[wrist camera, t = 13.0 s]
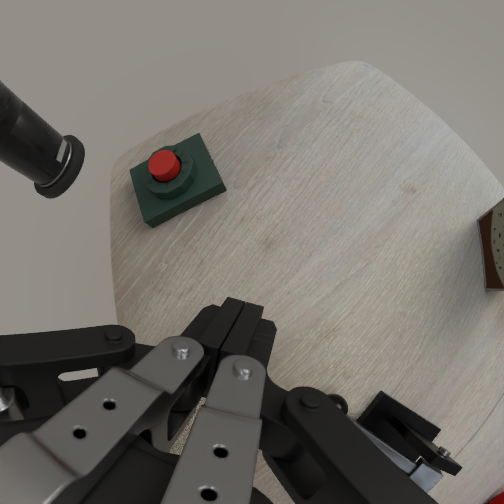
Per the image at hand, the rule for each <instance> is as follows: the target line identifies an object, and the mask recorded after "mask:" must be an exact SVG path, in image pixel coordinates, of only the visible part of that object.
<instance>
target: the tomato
mask: <svg viewBox="0 0 504 504" xmlns="http://www.w3.org/2000/svg"><path fill="white" fill-rule="evenodd" d="M489 504H504V492H503V493H501V494H499V495H498V496H497V497H495V498H494V499H493V500H492V501H491V502H490V503H489Z"/></svg>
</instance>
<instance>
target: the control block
mask: <svg viewBox="0 0 504 504" xmlns="http://www.w3.org/2000/svg"><path fill="white" fill-rule="evenodd" d="M161 150H169V151H171V152H173V153H174V155H175V156H176V158H177V159H178V161H179V162H180V171H179V173H178V174H177V176H176V177H175V178H173V179H172V180H170V181H167V182H161V181H159V180H157V179H156V178H155V177H154V175H153V174H152V173H151V172H150V171H149V161H150V159H151V158H152V156H153V155H154V154H156V153H157V152H159V151H161ZM129 171H130V174H131V178H132V182H133V185H134V189H135V192H136V196H137V199H138V203H139V206H140V209H141V213H142V216H143V219H144V222H145V223H146V224H147V225H149V226H150V227H152V228H153V227H155V226H157V225H159V224H161V223H163V222H165V221H167V220H168V219H170V218H172V217H174V216H176V215H178V214H180V213H182V212H184V211H186V210H188V209H190V208H192V207H194V206H196V205H198V204H200V203H202V202H204V201H206V200H208V199H210V198H212V197H214V196H216V195H218V194H220V193H222V192H224V191H226V188H225V186H224V184H223V181H222V179H221V177H220V175H219V173H218V171H217V169H216V167H215V165H214V163H213V161H212V159H211V157H210V154H209V152H208V150H207V148H206V146H205V144H204V142H203V140H202V138H201V136H200V134H199V133H198V134H196V135H194V136H192V137H190V138H188V139H186V140H184V141H182V142H180V143H178V144H176V145H173V146H165V147H163V148H161V149H159V150H157V151H155V152H154V153H153V154H152V155H151V156H150V158H149V159H148V160H146V161H144V162H143V163H141V164H139V165H138V166H136V167H134V168H132V169H131V170H129Z"/></svg>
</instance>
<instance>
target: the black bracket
mask: <svg viewBox="0 0 504 504" xmlns="http://www.w3.org/2000/svg"><path fill="white" fill-rule="evenodd" d="M357 422H359V423H360V424H361V425H363V426H364V427H365V428H367V429H368V430H369V431H371V432H372V433H374V434H375V435H376V436H378V437H379V438H381V439H382V440H383V441H385V442H386V443H388V444H389V445H391V446H392V447H394V448H395V449H396V450H398V451H399V452H401V453H402V454H404V455H405V456H407V457H408V458H410V459H411V460H413V461H414V462H415V461H416V460H417V459H418V458H419V456H420V455H421V456H422V457H423V458H424V459H425V460H426V461H427V462H428V463H429V464H430V465H432V466H434V467H436V468H438V469H440V470H442V471H445V472H447V473H449V474H451V475H454V476H456V475H457V473H458V472H459V471H460V470H461V469H462V467H461V466H460V465H459V464H458V463H456V462H455V461H454V460H453V459H452V458H450V457H449V455H450V454H451V453H450V452H449V451H448V450H446V449H445V448H443V447H440V448H438V447H437V446H436V445H435V444H434V443H433V442H432V441H433V440H434V438H435V437H436V436H437V434H438V433H439V432H440V431H441V429H440V428H438V427H437V426H435V425H434V424H432V423H430V422H429V421H427V420H426V419H424V418H423V417H421V416H419V415H418V414H416V413H415V412H413V411H412V410H410V409H409V408H407V407H405V406H404V405H402V404H401V403H399V402H398V401H396V400H395V399H393V398H392V397H390V396H389V395H387V394H386V393H384V392H383V391H380V392H379V394H378V395H377V396H376V398H375V399H374V400H373V401H372V403H371V404H370V405H369V406H368V408H367V409H366V410H365V411H364V412H363V414H362V415H361V416H360V417H359V418H358V420H357ZM401 470H402V469H401ZM402 471H403V470H402ZM403 472H404V473H405V474H406V472H405V471H403Z"/></svg>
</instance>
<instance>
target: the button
mask: <svg viewBox="0 0 504 504" xmlns="http://www.w3.org/2000/svg"><path fill="white" fill-rule="evenodd" d="M149 171H150V172H151V173H152V174H153V175H154V177H155V178H156V179H157V180H159V181H161V182H167V181H170V180H172V179H173V178H175V177H176V176H177V174H178V173H179V171H180V162H179V161H178V159H177V158H176V156H175V155H174V153H173V152H171V151H169V150H161V151H159V152H157V153H156V154H154V155H153V156H152V158H151V159H150V161H149Z"/></svg>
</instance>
